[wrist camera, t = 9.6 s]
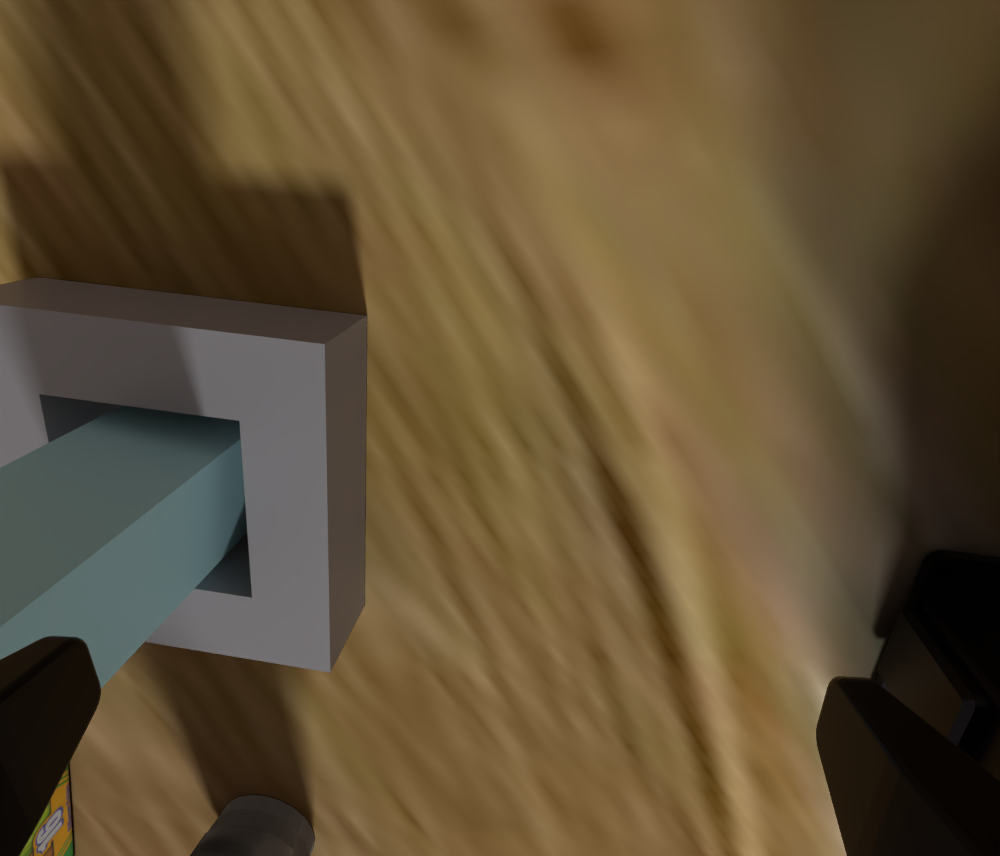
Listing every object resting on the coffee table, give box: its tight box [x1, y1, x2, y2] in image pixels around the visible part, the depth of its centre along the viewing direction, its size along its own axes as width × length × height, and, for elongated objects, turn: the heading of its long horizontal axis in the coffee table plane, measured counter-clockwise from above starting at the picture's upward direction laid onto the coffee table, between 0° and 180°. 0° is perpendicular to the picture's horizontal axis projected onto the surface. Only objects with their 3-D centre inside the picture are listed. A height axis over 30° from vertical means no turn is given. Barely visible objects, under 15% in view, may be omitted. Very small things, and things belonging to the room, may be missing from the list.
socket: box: [0, 277, 367, 672], centre depth 21 cm, size 11×11×4 cm
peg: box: [0, 405, 247, 688], centre depth 17 cm, size 4×4×13 cm
